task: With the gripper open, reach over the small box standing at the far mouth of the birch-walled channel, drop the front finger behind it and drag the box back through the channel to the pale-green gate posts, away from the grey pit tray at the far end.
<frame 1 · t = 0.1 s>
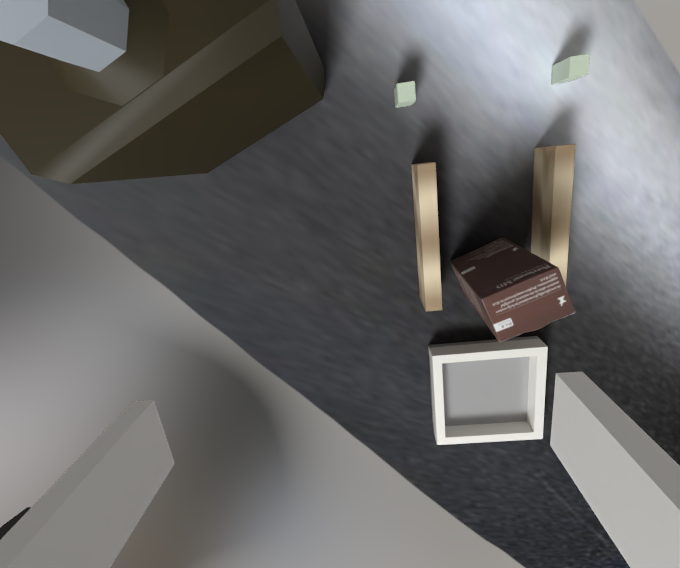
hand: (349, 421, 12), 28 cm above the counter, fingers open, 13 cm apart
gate: (480, 86, 33), on the counter
pit tray: (482, 385, 43), on the counter
box: (480, 264, 39), on the counter
channel: (481, 227, 37), on the counter
bottle: (243, 99, 35), on the counter
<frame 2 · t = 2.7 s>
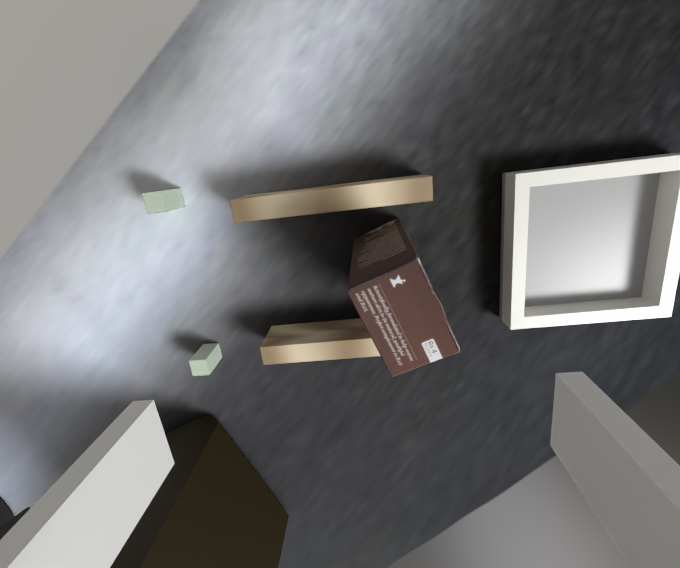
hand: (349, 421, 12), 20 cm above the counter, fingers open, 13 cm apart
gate: (194, 279, 32), on the counter
pit tray: (578, 241, 29), on the counter
box: (389, 259, 31), on the counter
channel: (342, 265, 31), on the counter
bottle: (227, 474, 39), on the counter
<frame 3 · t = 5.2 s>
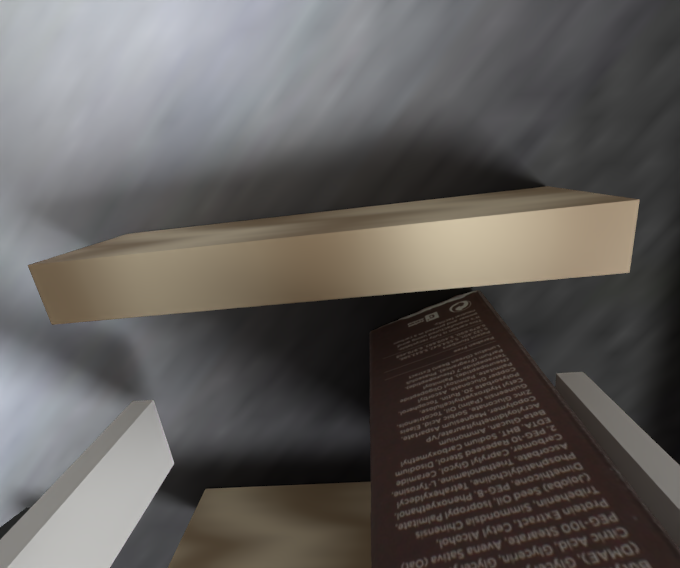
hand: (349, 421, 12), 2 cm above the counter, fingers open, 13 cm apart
box: (445, 372, 14), on the counter, touching gripper
channel: (348, 382, 14), on the counter
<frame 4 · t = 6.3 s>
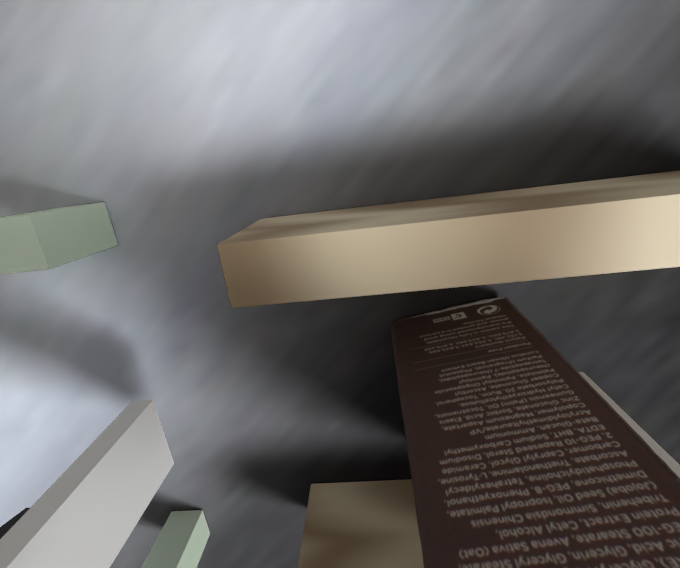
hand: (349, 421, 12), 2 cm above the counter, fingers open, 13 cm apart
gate: (148, 396, 15), on the counter
box: (455, 374, 14), on the counter
channel: (475, 373, 14), on the counter
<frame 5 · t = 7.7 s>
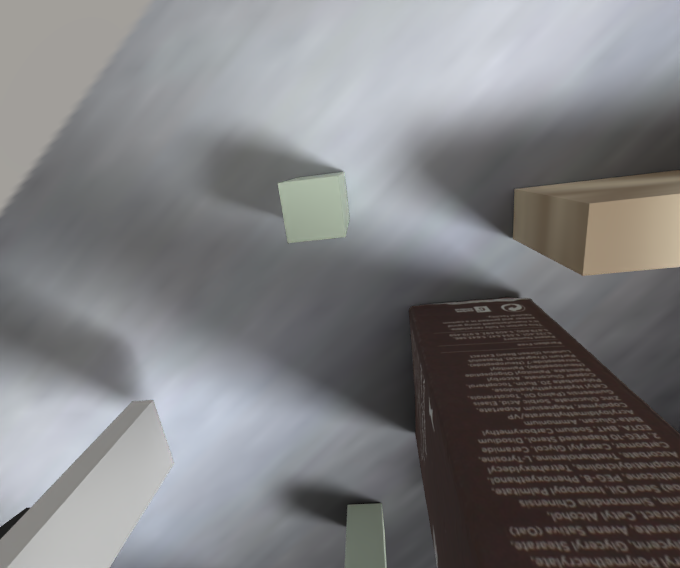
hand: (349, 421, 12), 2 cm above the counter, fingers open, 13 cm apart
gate: (348, 382, 14), on the counter
box: (461, 370, 14), on the counter, touching gripper
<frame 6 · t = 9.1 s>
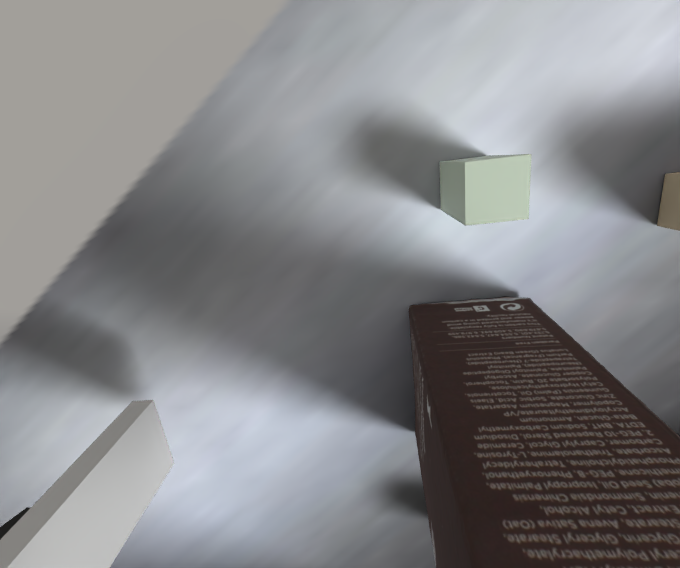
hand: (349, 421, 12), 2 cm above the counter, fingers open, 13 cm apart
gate: (466, 374, 14), on the counter
box: (461, 369, 14), on the counter, touching gripper
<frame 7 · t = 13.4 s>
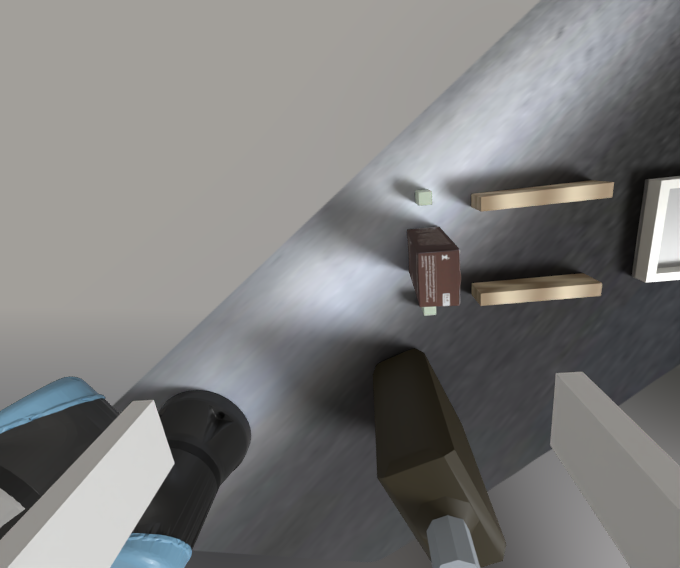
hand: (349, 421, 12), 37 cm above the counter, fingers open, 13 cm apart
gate: (423, 251, 47), on the counter
box: (422, 249, 47), on the counter
channel: (528, 240, 46), on the counter
bottle: (416, 394, 55), on the counter
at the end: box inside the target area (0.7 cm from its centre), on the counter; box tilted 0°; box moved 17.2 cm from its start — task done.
